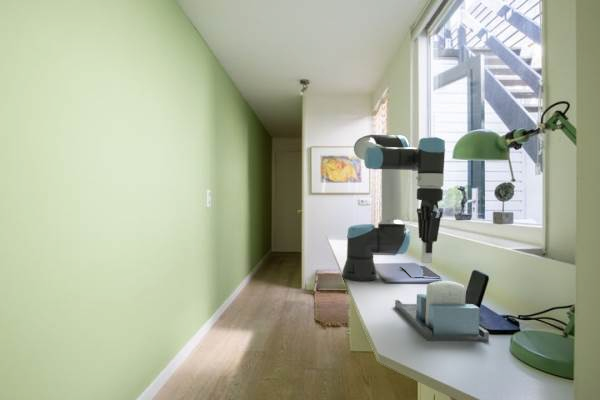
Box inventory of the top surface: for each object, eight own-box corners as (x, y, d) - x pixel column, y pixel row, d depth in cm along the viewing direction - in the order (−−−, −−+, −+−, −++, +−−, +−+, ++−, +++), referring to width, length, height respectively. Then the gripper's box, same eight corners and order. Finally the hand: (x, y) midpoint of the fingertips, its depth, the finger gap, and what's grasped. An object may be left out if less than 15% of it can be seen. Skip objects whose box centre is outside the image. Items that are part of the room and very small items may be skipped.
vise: (395, 306, 105) (395, 282, 105) (442, 307, 106) (443, 283, 106) (427, 340, 81) (428, 309, 81) (488, 340, 82) (489, 309, 82)
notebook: (440, 280, 143) (424, 269, 164) (440, 276, 143) (424, 266, 164) (411, 278, 144) (399, 268, 165) (411, 275, 144) (399, 265, 165)
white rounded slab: (458, 322, 90) (459, 279, 90) (467, 329, 86) (468, 283, 86) (422, 322, 90) (424, 278, 90) (429, 329, 86) (431, 283, 85)
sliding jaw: (416, 317, 93) (416, 294, 93) (456, 318, 94) (457, 294, 93) (420, 322, 90) (421, 297, 90) (462, 322, 91) (463, 297, 90)
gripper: (409, 187, 106) (407, 257, 107) (427, 187, 93) (423, 267, 94) (432, 187, 106) (429, 258, 107) (452, 188, 93) (448, 268, 94)
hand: (426, 262), depth 101 cm, fingers closed
